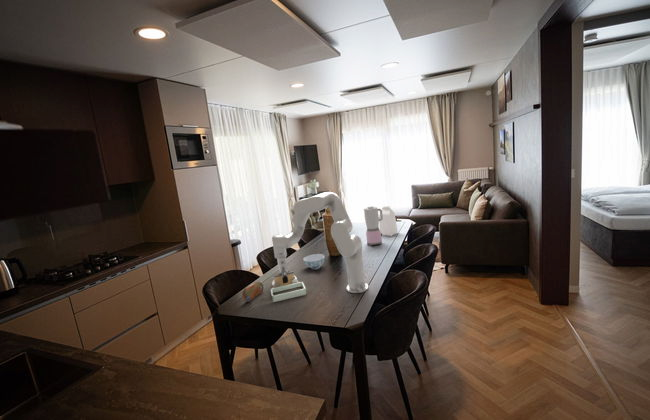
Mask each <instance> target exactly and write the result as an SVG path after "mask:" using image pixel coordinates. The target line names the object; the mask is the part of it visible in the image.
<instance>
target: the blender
mask: <svg viewBox="0 0 650 420" xmlns="http://www.w3.org/2000/svg"><path fill="white" fill-rule="evenodd" d="M363 212H364V220H365V221H364V222H365V225H366V231H365V233H366V234H365V236H366V244H367V245H369V247H372V246H373V245H374V246H375V245H382V242H383V241H382V237H383V235H382V233H381V232H380V224H379V221H381V220H382V219H383V217H382V209H381V208H378V207H377V206H374V205H369V206H367V207H365V208H364V209H363ZM379 214H380V217H381V218H380V219H379Z"/></svg>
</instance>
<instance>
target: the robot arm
mask: <svg viewBox="0 0 650 420" xmlns="http://www.w3.org/2000/svg"><path fill="white" fill-rule="evenodd" d="M326 208H329V212H330V215H331V217H332V220H333V223H332V224H331V226H330V234H331V237H332V239H333V242H334V243H335V246H336V248H337V250H338V253H340V255H341V256H343V257H344V258H345V266H346V273H347V282H348V284H347V286H346V291H347V292H348V293H350V294H351V293H352V294H361V293H364V292H366V291H368V290H369V285H368V283H366V280H365V277H366V276H365V269H364V268H365V267H364V259H363V242H362V240H361V237H360V236H358V235H357V234H354V233H353V234H350V233H351V232H352V230H353V223H352V221H351V219H350V217H349V215H348V211H347V210H346V208H345V206H344V203H343V201H342V199H341V197H340V196H339V195H338V194H337V193H335V192H331V191H324V192H321V193H318V194H316V195H313V196H310V197H307V198H306V197H305V198H301V199H299V200H297V201H296V202H294V205H293V207H292V209H293V213H294V214H293V216H292V218H291V222H292V223H293V227H292V229H291V231H290V232H289V233H287V234H286V235H284V234H280V233H279V234H275V235H272V237H271V240H272V241H271V242H272V248H273V254H274V259H276V260H277V265H278V269H279V273H281V274H282V276H283V277H282V279H283V283H288V277H287V273H286V272H288V271H289V269H288V262H287V256H288V253H287V249H289V248H291V247H293V246H294V245H296V244H297V243H299V242H300V240H301V238H302V237H303V235H304V232H305V229H306V228H305V227H306V223H307V221H308V220H309V218H310V215H312V214H313V213H317V212H320V211H322V210H324V209H326Z"/></svg>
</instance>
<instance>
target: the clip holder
mask: <svg viewBox="0 0 650 420" xmlns="http://www.w3.org/2000/svg"><path fill="white" fill-rule="evenodd" d="M291 280H292V283H289V284H285V285H290V284H294V283H299V280H298V278H297V276H296V275H294V279H291ZM271 284H272V288H276V287H281V286H285V285H280V286H279V282H278V283H275V279H274V280H272V283H271Z"/></svg>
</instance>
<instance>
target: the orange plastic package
mask: <svg viewBox="0 0 650 420" xmlns="http://www.w3.org/2000/svg"><path fill="white" fill-rule="evenodd" d="M263 292H264V284H263V282H260V281H254V282H253V283H251V284H250V285H248V286H246V287H245V288H244V289H243V290H242V295H241V297H242V299H243V300H244V301H245V302H249V303H251V302H252V301H253V299H254V298H255V297H257V296H258V295H261V294H263Z"/></svg>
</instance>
